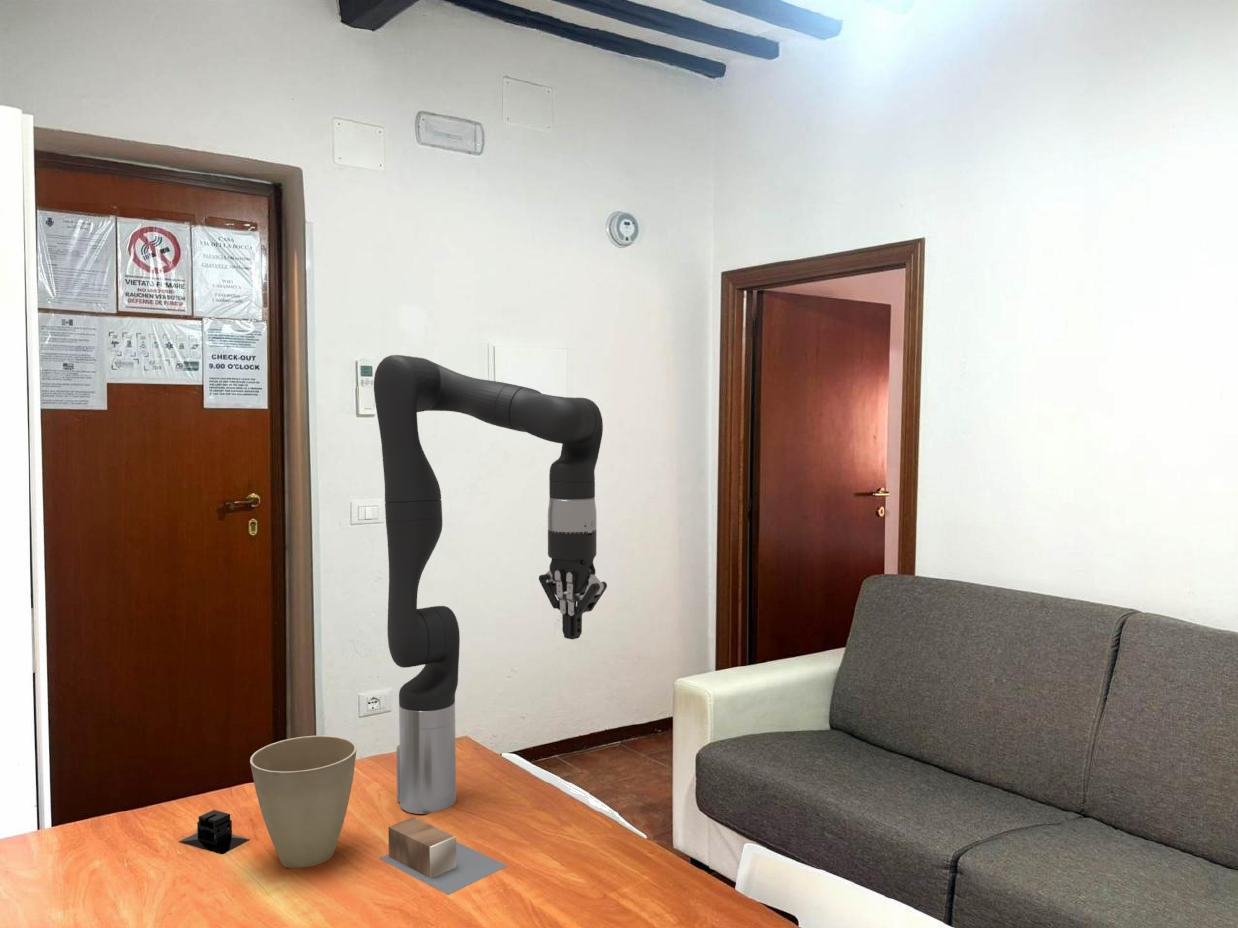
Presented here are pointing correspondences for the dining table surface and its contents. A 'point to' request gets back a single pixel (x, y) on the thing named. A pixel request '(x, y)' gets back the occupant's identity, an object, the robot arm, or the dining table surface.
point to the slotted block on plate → (214, 833)
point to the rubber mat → (456, 870)
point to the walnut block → (422, 847)
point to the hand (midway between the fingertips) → (572, 637)
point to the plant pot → (304, 795)
